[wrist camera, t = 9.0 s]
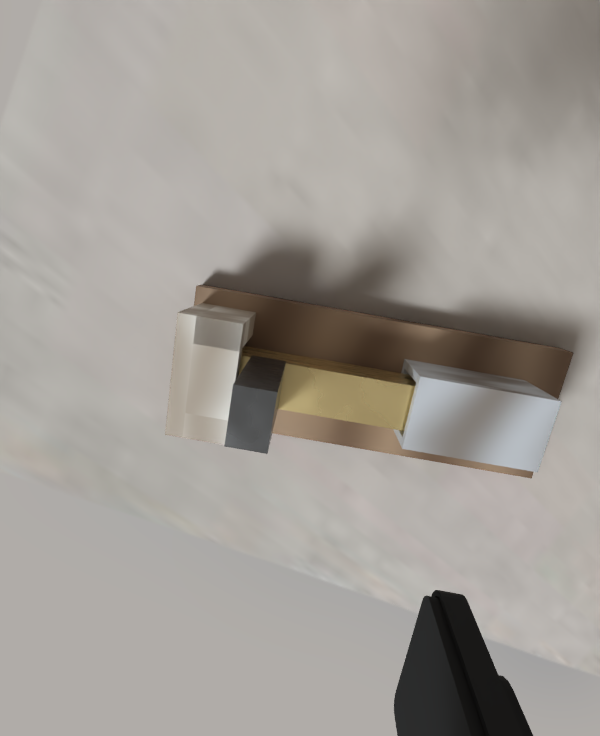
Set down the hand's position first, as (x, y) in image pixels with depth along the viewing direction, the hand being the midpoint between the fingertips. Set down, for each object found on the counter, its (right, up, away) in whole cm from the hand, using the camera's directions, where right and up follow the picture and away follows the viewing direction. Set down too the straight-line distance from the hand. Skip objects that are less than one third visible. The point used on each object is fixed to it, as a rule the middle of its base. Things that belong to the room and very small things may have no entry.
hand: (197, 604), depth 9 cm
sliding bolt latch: (+7, +4, +21) cm, 23 cm away
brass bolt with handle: (+4, +4, +19) cm, 20 cm away
